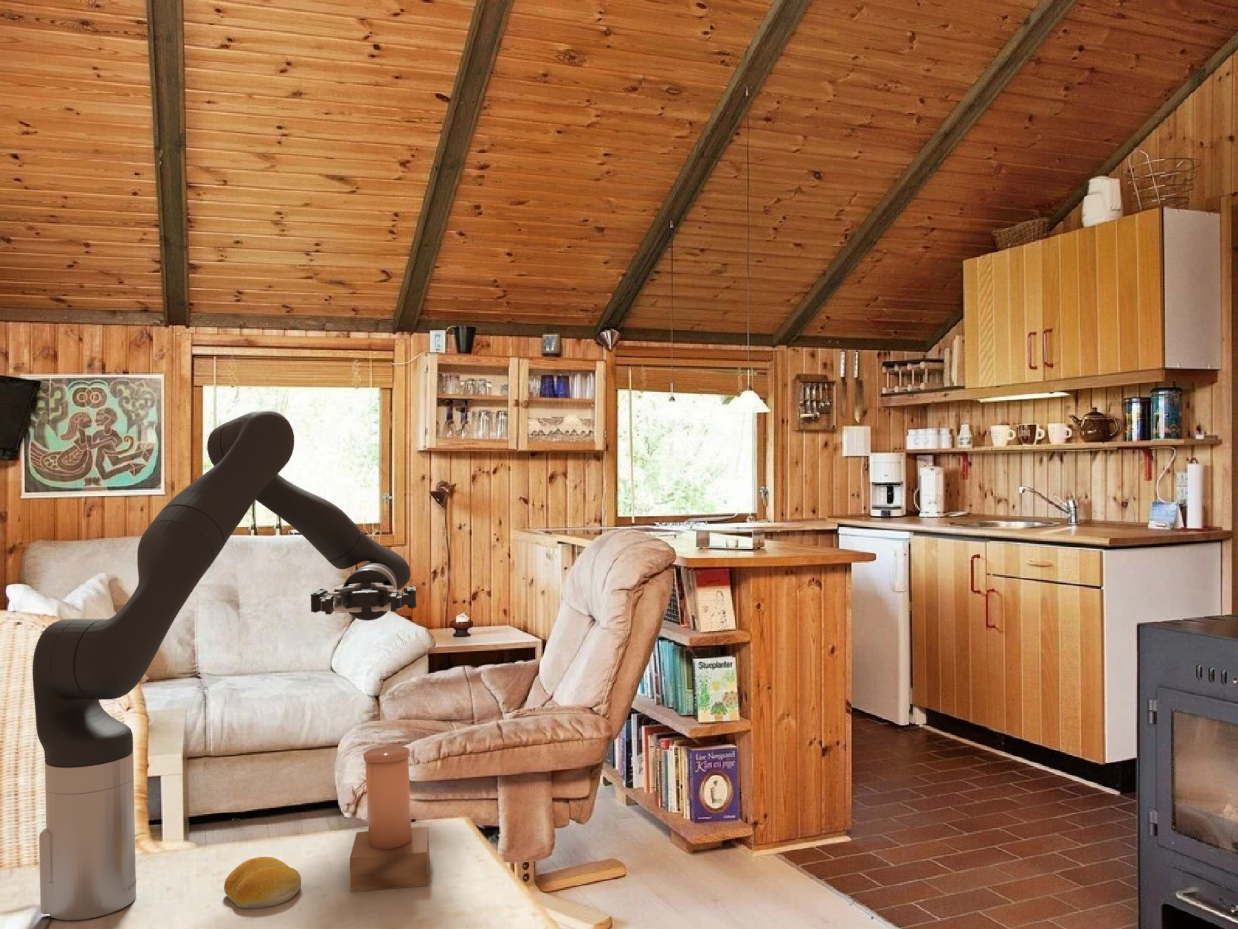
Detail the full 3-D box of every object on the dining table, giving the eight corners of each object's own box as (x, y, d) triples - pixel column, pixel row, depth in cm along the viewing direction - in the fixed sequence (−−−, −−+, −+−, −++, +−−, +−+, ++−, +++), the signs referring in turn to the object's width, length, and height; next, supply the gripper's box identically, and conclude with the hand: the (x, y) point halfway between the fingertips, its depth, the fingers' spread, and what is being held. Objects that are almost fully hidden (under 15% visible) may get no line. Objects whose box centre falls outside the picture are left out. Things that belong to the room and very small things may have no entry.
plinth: (350, 892, 124) (349, 858, 124) (357, 863, 133) (356, 832, 133) (427, 885, 125) (426, 852, 125) (429, 858, 134) (428, 827, 134)
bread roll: (245, 918, 118) (244, 882, 118) (216, 895, 124) (215, 861, 124) (314, 896, 123) (313, 862, 123) (282, 875, 130) (282, 843, 130)
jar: (364, 851, 126) (360, 760, 126) (369, 835, 131) (366, 748, 131) (411, 847, 127) (407, 757, 127) (415, 831, 132) (411, 744, 132)
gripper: (320, 568, 154) (305, 579, 138) (418, 564, 156) (414, 575, 140) (321, 618, 154) (306, 636, 138) (419, 614, 156) (415, 631, 140)
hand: (360, 605), depth 139 cm, fingers open, 8 cm apart
